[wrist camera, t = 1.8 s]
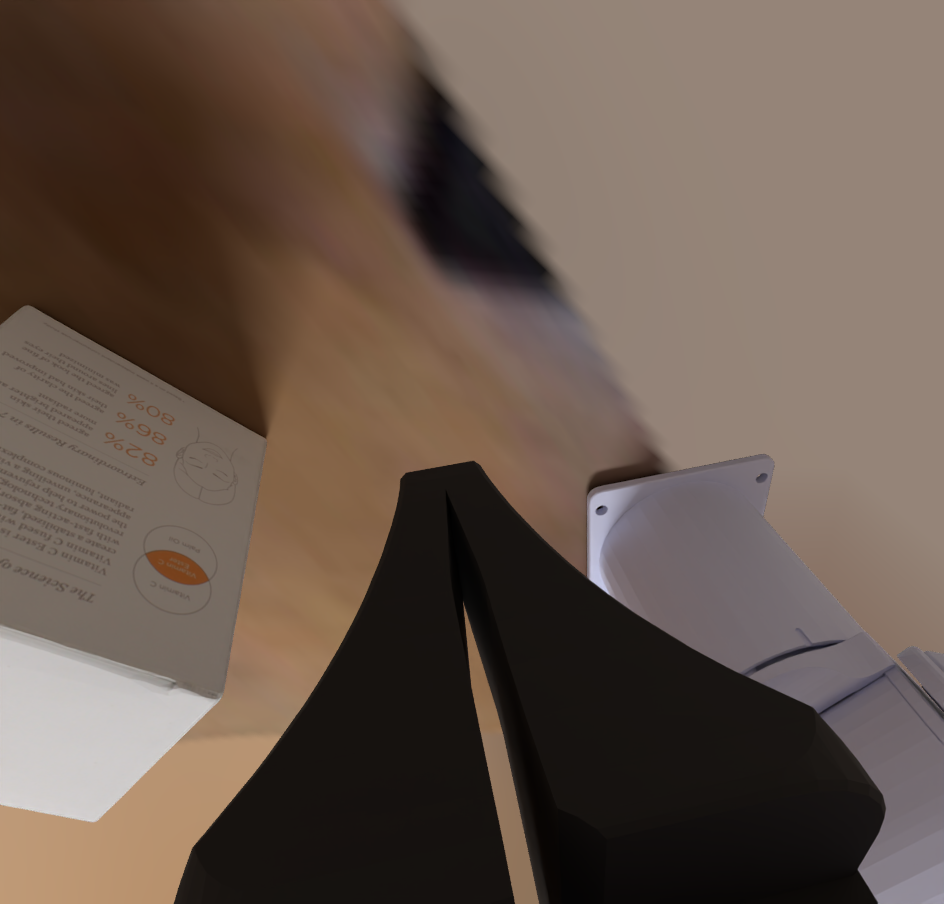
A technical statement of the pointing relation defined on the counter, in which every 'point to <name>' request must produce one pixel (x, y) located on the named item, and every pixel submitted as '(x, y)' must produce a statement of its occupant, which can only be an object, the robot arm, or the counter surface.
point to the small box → (109, 565)
